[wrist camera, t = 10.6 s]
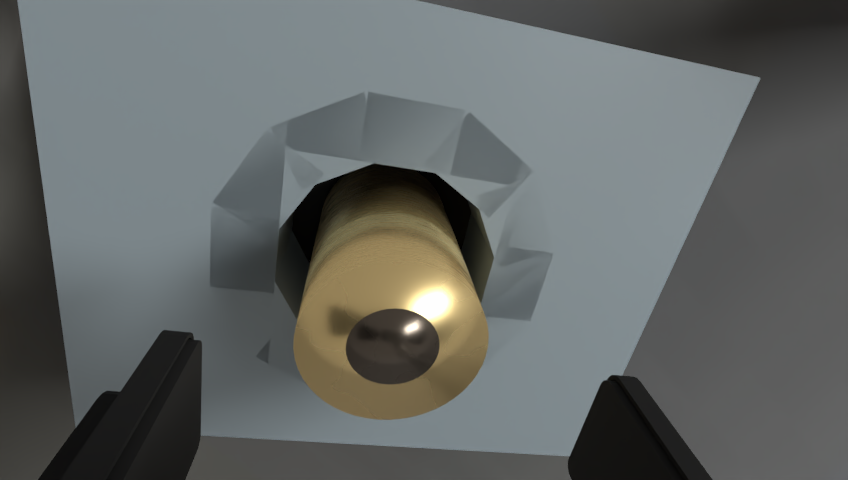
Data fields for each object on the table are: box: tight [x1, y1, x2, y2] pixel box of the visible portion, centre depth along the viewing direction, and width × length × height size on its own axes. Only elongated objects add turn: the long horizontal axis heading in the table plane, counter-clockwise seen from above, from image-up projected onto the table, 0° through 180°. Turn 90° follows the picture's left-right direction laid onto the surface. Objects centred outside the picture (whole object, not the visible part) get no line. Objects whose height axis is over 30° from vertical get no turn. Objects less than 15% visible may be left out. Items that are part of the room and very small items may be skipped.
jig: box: [17, 0, 760, 456], centre depth 18 cm, size 20×16×4 cm
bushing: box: [293, 163, 489, 420], centre depth 16 cm, size 5×5×8 cm
